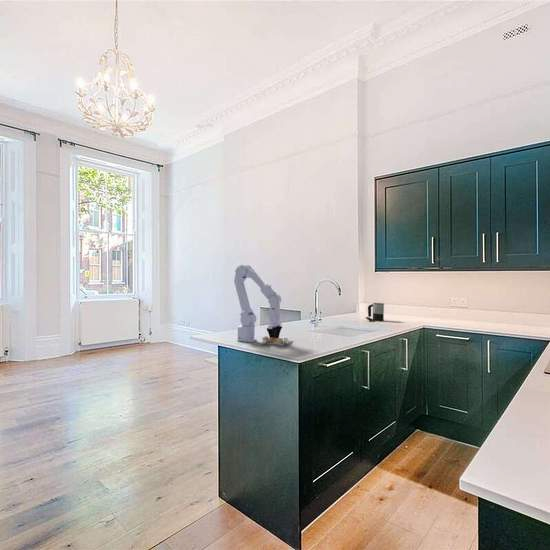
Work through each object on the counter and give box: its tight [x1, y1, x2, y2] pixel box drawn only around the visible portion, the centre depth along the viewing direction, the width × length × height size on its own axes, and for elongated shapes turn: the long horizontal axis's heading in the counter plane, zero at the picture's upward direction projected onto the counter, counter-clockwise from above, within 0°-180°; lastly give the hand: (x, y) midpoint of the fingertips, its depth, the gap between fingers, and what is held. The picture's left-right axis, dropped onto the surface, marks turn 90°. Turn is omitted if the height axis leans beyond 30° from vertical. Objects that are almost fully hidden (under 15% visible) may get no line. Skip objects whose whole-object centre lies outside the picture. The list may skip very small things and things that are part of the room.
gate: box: [264, 336, 284, 344], centre depth 196 cm, size 10×1×3 cm, turn 71°
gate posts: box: [261, 336, 289, 346], centre depth 194 cm, size 14×3×4 cm, turn 86°
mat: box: [260, 340, 294, 348], centre depth 199 cm, size 15×16×1 cm
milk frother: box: [365, 302, 385, 322], centre depth 298 cm, size 14×16×15 cm
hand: (274, 339), depth 201 cm, fingers open, 6 cm apart
